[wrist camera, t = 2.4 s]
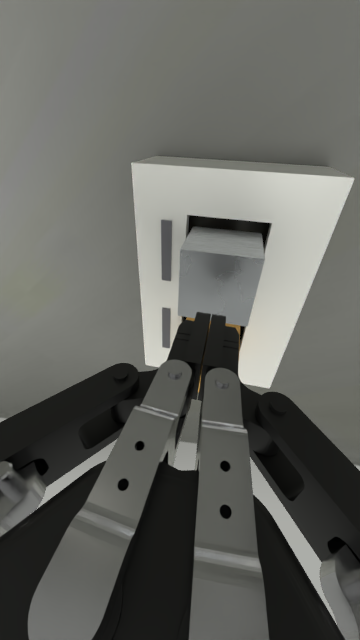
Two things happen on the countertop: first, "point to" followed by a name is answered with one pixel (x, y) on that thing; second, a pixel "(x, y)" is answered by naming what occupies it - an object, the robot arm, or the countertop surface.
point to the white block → (220, 273)
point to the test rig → (239, 204)
